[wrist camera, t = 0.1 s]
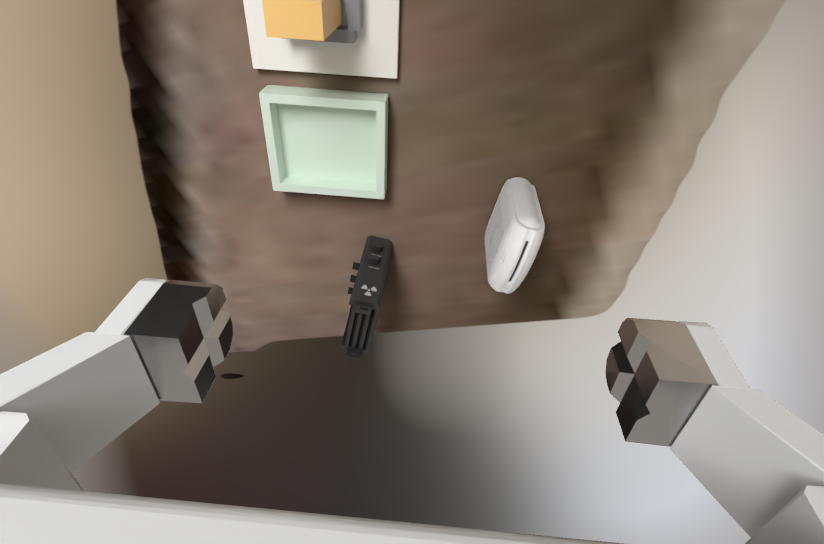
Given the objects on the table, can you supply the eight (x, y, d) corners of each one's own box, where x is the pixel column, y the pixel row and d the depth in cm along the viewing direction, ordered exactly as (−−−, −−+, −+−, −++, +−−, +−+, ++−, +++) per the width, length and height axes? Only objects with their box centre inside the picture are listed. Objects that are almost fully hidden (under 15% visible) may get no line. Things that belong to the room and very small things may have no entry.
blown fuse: (294, -18, 47) (261, -3, 39) (344, -15, 47) (321, 1, 39) (297, 16, 49) (266, 36, 41) (345, 19, 49) (323, 40, 41)
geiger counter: (362, 228, 66) (341, 298, 54) (394, 235, 66) (380, 307, 54) (351, 284, 72) (330, 358, 60) (380, 291, 72) (365, 366, 60)
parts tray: (267, 84, 55) (258, 93, 52) (388, 93, 54) (385, 102, 52) (280, 179, 62) (273, 190, 59) (386, 188, 61) (384, 199, 59)
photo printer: (510, 245, 65) (519, 305, 56) (480, 239, 65) (484, 297, 55) (538, 180, 59) (554, 234, 49) (505, 172, 59) (515, 224, 49)
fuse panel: (233, -91, 45) (221, -91, 42) (402, -81, 44) (399, -80, 42) (256, 66, 53) (247, 73, 51) (397, 76, 53) (395, 84, 50)
